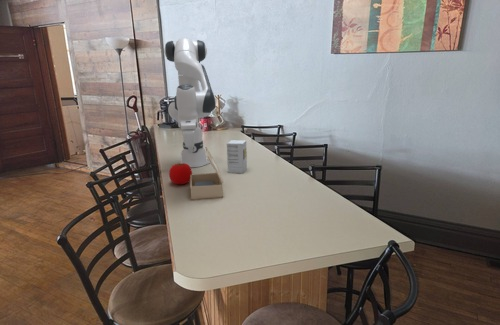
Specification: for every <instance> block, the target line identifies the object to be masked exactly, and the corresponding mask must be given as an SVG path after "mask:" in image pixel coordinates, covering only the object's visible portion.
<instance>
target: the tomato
mask: <svg viewBox="0 0 500 325" xmlns="http://www.w3.org/2000/svg"><path fill="white" fill-rule="evenodd" d="M168 173H169V174H168V176H169V179H170V181H171V182H172V183H173V184H175V185H186V184H188V183H189V182H190V175H193V170H192V167H190V166H189V165H188V164H184V163H181V164H180V162H179V163H177V164H176V163H175V164H173V165H172V166H171V167H170V169H169V172H168Z"/></svg>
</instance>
